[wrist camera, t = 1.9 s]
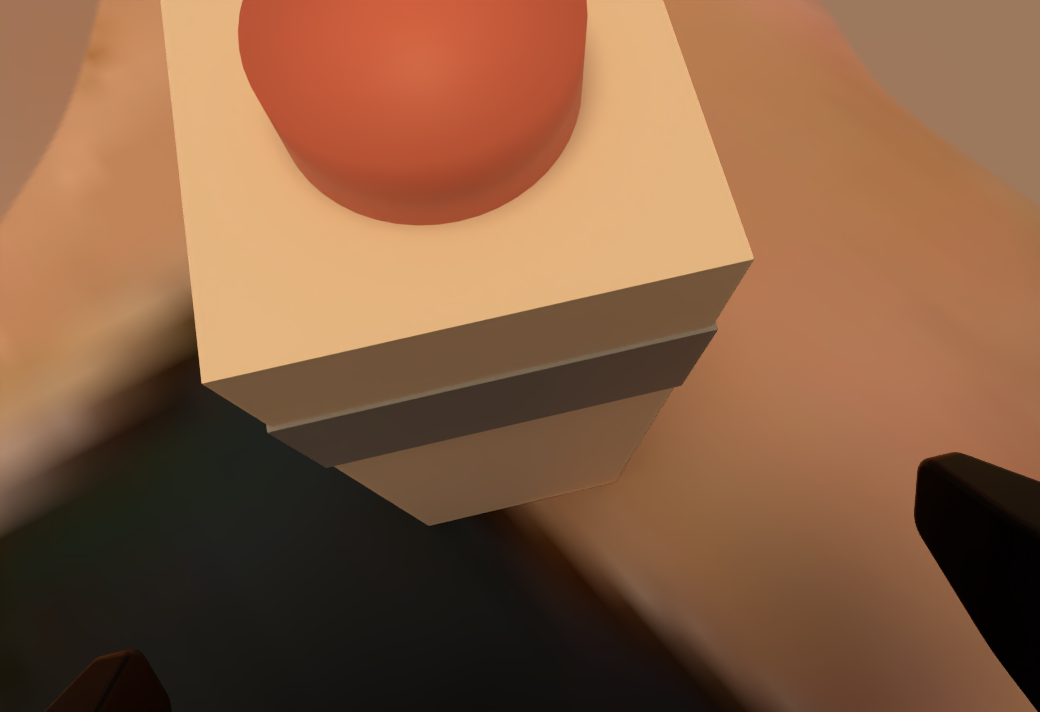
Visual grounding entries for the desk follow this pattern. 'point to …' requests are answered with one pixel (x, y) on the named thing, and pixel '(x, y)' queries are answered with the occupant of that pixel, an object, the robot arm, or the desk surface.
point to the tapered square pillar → (449, 234)
